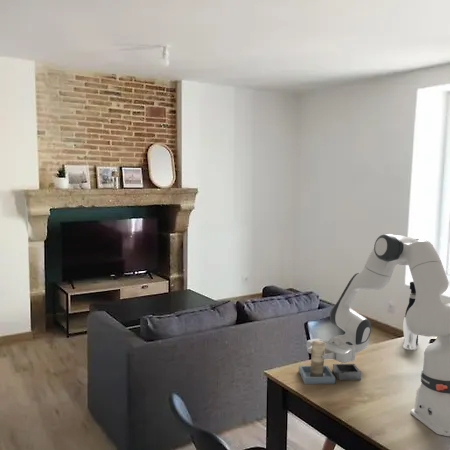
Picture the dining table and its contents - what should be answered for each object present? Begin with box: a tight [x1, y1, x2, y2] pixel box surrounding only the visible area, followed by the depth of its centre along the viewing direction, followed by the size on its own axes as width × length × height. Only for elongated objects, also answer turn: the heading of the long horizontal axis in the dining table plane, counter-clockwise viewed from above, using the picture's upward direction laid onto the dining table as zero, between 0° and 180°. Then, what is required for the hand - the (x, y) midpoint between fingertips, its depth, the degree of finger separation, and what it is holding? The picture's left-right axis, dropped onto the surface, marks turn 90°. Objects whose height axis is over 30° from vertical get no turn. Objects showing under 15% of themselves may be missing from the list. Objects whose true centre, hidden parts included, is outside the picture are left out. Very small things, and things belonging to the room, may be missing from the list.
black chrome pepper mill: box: [404, 281, 419, 345], centre depth 244 cm, size 6×6×30 cm
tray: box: [298, 365, 336, 385], centre depth 201 cm, size 12×12×2 cm
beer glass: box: [402, 316, 417, 351], centre depth 236 cm, size 7×7×15 cm
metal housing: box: [332, 363, 362, 381], centre depth 204 cm, size 9×9×3 cm
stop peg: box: [310, 340, 325, 377], centre depth 200 cm, size 5×5×14 cm
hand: (315, 353), depth 200 cm, fingers open, 6 cm apart
